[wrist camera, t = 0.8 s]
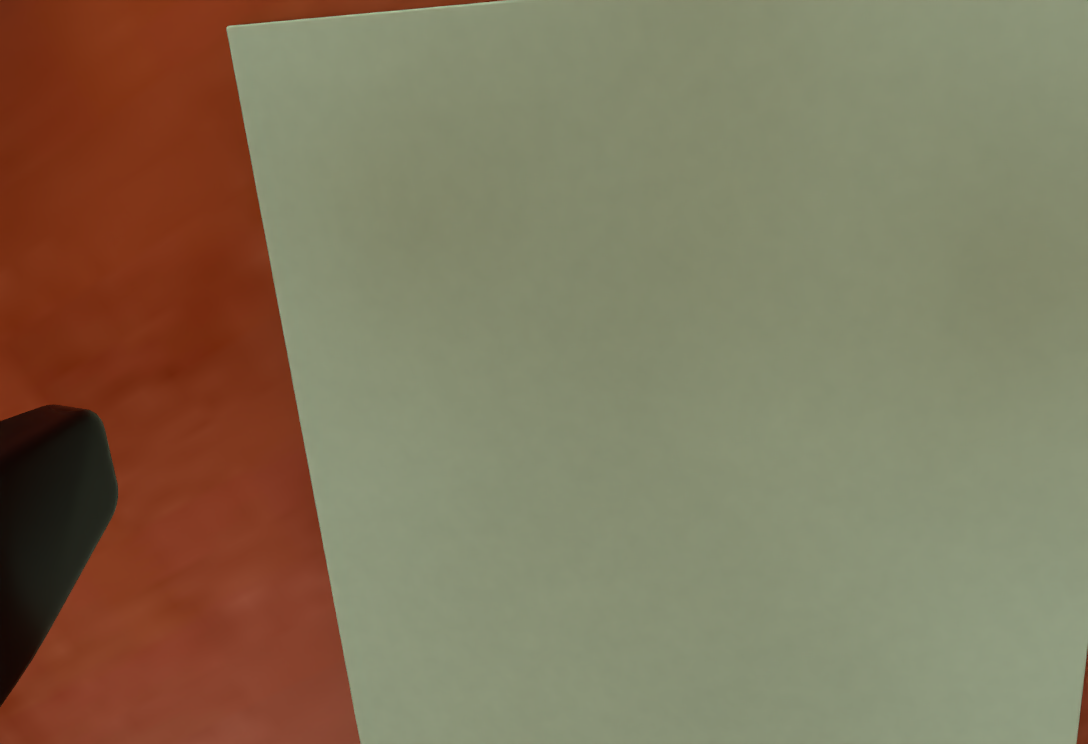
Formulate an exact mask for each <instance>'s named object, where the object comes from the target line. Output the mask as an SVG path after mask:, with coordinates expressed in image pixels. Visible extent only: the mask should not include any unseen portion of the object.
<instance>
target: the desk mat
mask: <svg viewBox="0 0 1088 744" xmlns="http://www.w3.org/2000/svg"><path fill="white" fill-rule="evenodd" d="M226 29H227V35H228V40H229V45H230V51H231V56H232V61H233V67H234V72H235V77H236V83H237V88H238V93H239V99H240V104H241V109H242V115H243V120H244V125H245V131H246V136H247V141H248V147H249V152H250V157H251V163H252V168H253V173H254V179H255V184H256V189H257V195H258V200H259V205H260V211H261V216H262V221H263V227H264V232H265V237H266V243H267V248H268V253H269V259H270V264H271V269H272V275H273V280H274V285H275V290H276V296H277V301H278V306H279V312H280V317H281V322H282V328H283V333H284V338H285V344H286V349H287V354H288V360H289V365H290V370H291V376H292V381H293V386H294V392H295V397H296V402H297V408H298V413H299V418H300V424H301V429H302V434H303V440H304V445H305V450H306V456H307V461H308V466H309V472H310V477H311V482H312V488H313V493H314V498H315V504H316V509H317V514H318V520H319V525H320V530H321V536H322V541H323V546H324V552H325V557H326V562H327V568H328V573H329V578H330V584H331V589H332V594H333V600H334V605H335V610H336V616H337V621H338V626H339V632H340V637H341V642H342V648H343V653H344V658H345V664H346V669H347V674H348V679H349V685H350V690H351V695H352V701H353V706H354V711H355V717H356V722H357V727H358V733H359V738H360V743H361V744H1076V743H1077V735H1078V726H1079V718H1080V709H1081V701H1082V692H1083V683H1084V675H1085V666H1086V658H1087V649H1088V0H506V1H495V2H484V3H473V4H462V5H451V6H440V7H429V8H419V9H408V10H397V11H386V12H375V13H364V14H353V15H342V16H331V17H320V18H309V19H298V20H287V21H277V22H266V23H255V24H244V25H233V26H228V27H227V28H226Z"/></svg>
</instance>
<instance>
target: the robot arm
mask: <svg viewBox="0 0 1088 744" xmlns="http://www.w3.org/2000/svg"><path fill="white" fill-rule="evenodd" d="M117 500H118V485H117V480H116V476H115V471H114V467H113V463H112V458H111V454H110V450H109V445H108V441H107V437H106V432H105V428H104V425H103V422H102V421H101V419H100V418H99V416H98V415H97V414H96V413H94V412H92V411H90V410H87V409H81V408H74V407H67V406H61V405H46V406H42V407H39V408H36V409H34V410H31V411H28V412H25V413H22V414H19V415H16V416H14V417H11V418H8V419H5V420H2V421H0V707H1V705H2V704H3V702H4V701H5V699H6V698H7V697H8V695H9V694H10V692H11V691H12V689H13V688H14V687H15V685H16V684H17V682H18V681H19V679H20V677H21V676H22V674H23V673H24V671H25V670H26V668H27V667H28V665H29V664H30V662H31V661H32V659H33V657H34V656H35V654H36V652H37V651H38V649H39V647H40V646H41V644H42V642H43V641H44V639H45V637H46V635H47V634H48V632H49V630H50V628H51V626H52V625H53V623H54V621H55V619H56V617H57V616H58V614H59V612H60V610H61V608H62V607H63V605H64V603H65V601H66V599H67V598H68V596H69V594H70V592H71V590H72V589H73V587H74V585H75V583H76V581H77V580H78V578H79V576H80V574H81V572H82V571H83V569H84V567H85V565H86V563H87V562H88V560H89V558H90V556H91V554H92V553H93V551H94V549H95V547H96V545H97V544H98V542H99V540H100V538H101V536H102V534H103V533H104V531H105V529H106V527H107V525H108V524H109V522H110V520H111V518H112V516H113V514H114V511H115V508H116V505H117Z"/></svg>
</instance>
